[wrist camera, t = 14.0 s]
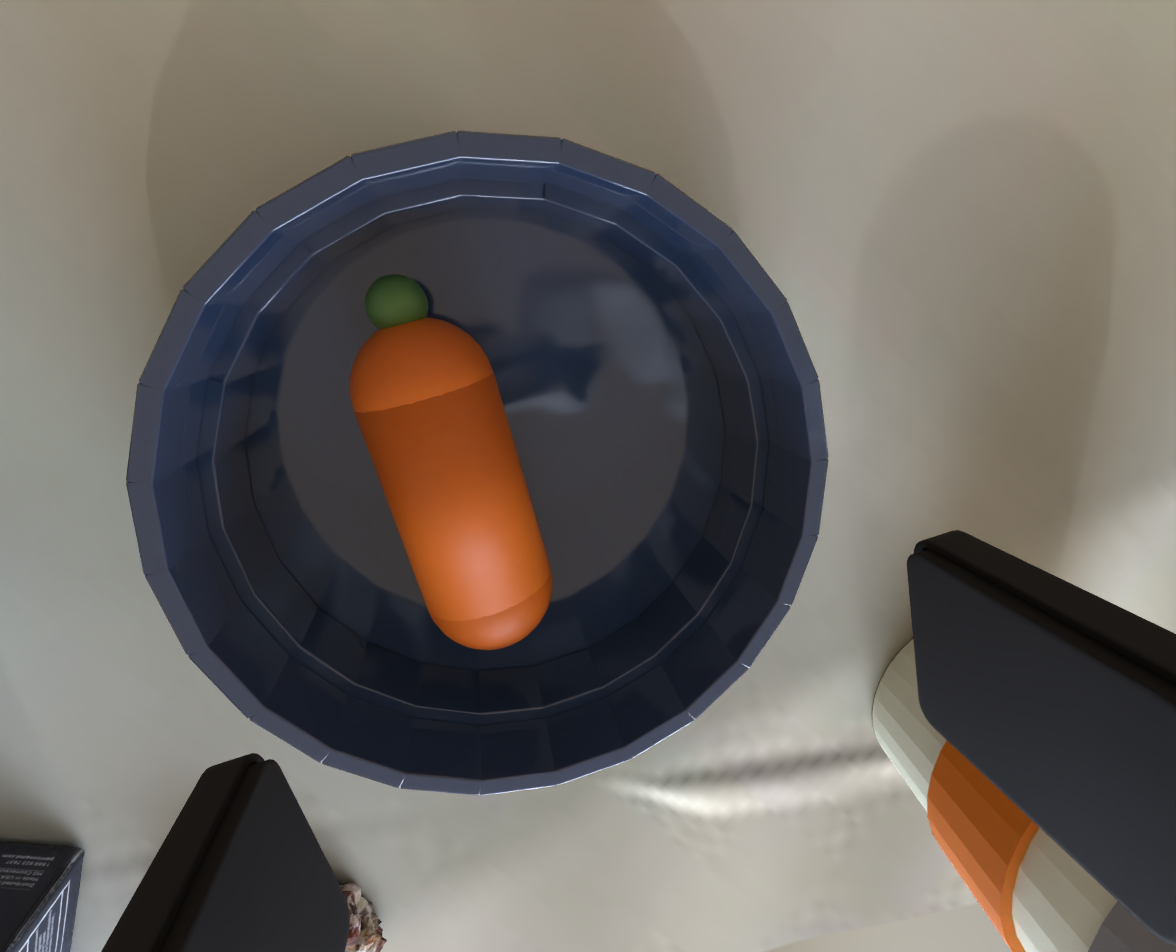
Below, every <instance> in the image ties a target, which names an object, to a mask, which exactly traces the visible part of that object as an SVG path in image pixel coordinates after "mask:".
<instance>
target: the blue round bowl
mask: <svg viewBox="0 0 1176 952" xmlns="http://www.w3.org/2000/svg"><path fill="white" fill-rule="evenodd" d="M389 274H399V275H404V276H407V277H409V278H411V279H412V280H414V281H415V282H416V283H417V284H419V286H420V287H421V288H422V289H423V291H424V293H425V295H426V297H427V301H428V315H427V317H429V318H435V319H439V320H443V321H446V322H448V323H451V324H453V325H455V326H457V327H459V328H460V329H462V330H463V331H465V332H466V333H467V334H469V335H470V336H471V337H472V338H473V339H474V340H475V341H476V342H477V343H478V344H479V345H480V346H481V348H482V350H483V351H484V353H485V354H486V356H487V357H488V360H489V362H490V365H491V367H492V370H493V372H494V375H495V379H496V382H497V385H498V389H499V392H500V396H501V399H502V403H503V406H504V409H505V413H506V416H507V420H508V423H509V427H510V430H511V433H512V437H513V440H514V444H515V447H516V451H517V454H518V458H519V461H520V464H521V468H522V471H523V475H524V478H525V482H526V485H527V488H528V492H529V495H530V499H531V502H532V506H533V509H534V512H535V516H536V519H537V523H538V526H539V530H540V533H541V537H542V540H543V543H544V547H545V550H546V554H547V557H548V561H549V564H550V568H551V574H552V594H551V599H550V602H549V606H548V608H547V611H546V613H545V614H544V616H543V618H542V620H541V621H540V623H539V624H538V625H537V627H536V628H535V629H534V630H533V631H532V632H531V633H529V634H528V635H527V636H526V637H525V638H523V639H522V640H520V641H518V642H517V643H515V644H512V645H510V646H507V647H504V648H500V649H495V650H481V649H473V648H469V647H466V646H463V645H461V644H458V643H457V642H455V641H453V640H452V639H450V638H449V637H447V636H446V635H445V634H444V633H443V632H442V631H441V630H440V629H439V627H438V626H437V625H436V624H435V623H434V622H433V620H432V618H431V616H430V614H429V612H428V610H427V607H426V604H425V602H424V599H423V596H422V594H421V591H420V588H419V585H418V583H417V580H416V577H415V575H414V572H413V569H412V567H411V564H410V561H409V559H408V556H407V553H406V550H405V548H404V545H403V542H402V540H401V537H400V534H399V532H398V529H397V526H396V524H395V521H394V518H393V515H392V513H391V510H390V507H389V505H388V502H387V499H386V497H385V494H384V491H383V489H382V486H381V483H380V481H379V478H378V475H377V472H376V470H375V467H374V464H373V462H372V459H371V456H370V454H369V451H368V448H367V446H366V443H365V440H364V437H363V435H362V432H361V429H360V427H359V424H358V421H357V419H356V416H355V413H354V409H353V406H352V402H351V398H350V376H351V370H352V366H353V363H354V361H355V358H356V356H357V353H358V352H359V350H360V349H361V347H362V346H363V344H364V343H365V342H366V341H367V340H368V339H369V338H370V337H371V336H372V335H373V334H374V333H375V332H376V331H378V330H379V329H377V328H376V327H375V326H374V325H373V324H372V322H371V321H370V319H369V317H368V315H367V312H366V308H365V298H366V294H367V291H368V289H369V287H370V286H371V285H372V283H373V282H374V281H376V280H377V279H378V278H380V277H382V276H385V275H389ZM139 382H140V383H138V384H137V393H136V401H135V410H134V418H133V426H132V435H131V443H130V452H129V460H128V469H127V477H126V481H127V482H126V485H127V490H128V495H129V500H130V505H131V510H132V516H133V521H134V526H135V531H136V536H137V541H138V546H139V552H140V557H141V562H142V567H143V572H144V574H145V577H146V579H147V581H148V583H149V585H150V587H151V589H152V590H153V592H154V594H155V596H156V598H157V600H158V602H159V604H160V606H161V607H162V609H163V611H164V613H165V615H166V617H167V619H168V621H169V622H170V624H171V626H172V628H173V630H174V632H175V634H176V636H177V638H178V639H179V641H180V643H181V645H182V647H183V649H184V651H185V653H186V654H187V655H189V658H190V659H191V660H192V661H193V662H194V663H195V664H196V665H197V666H198V667H199V668H200V669H201V671H202V672H203V673H204V674H205V675H206V676H207V677H208V678H209V679H210V680H211V681H212V682H213V683H214V684H215V685H216V686H217V687H218V688H219V689H220V690H221V691H222V692H223V693H224V694H225V695H226V697H227V698H228V699H229V700H230V701H231V702H232V703H233V704H234V705H235V706H236V707H237V708H238V709H239V710H240V711H241V712H242V713H243V714H244V715H245V716H246V717H247V718H250V720H251V721H252V722H254V723H255V724H257V725H259V726H260V727H262V728H264V729H265V730H267V731H269V732H270V733H272V734H273V735H275V736H277V737H278V738H280V739H282V740H283V741H285V742H287V743H288V744H290V745H291V746H293V747H295V748H296V749H298V750H300V751H301V752H303V753H305V754H306V755H308V756H309V757H311V758H313V759H314V760H316V761H318V762H320V763H321V762H322V764H324V765H327V766H330V767H333V768H336V769H340V770H343V771H346V772H349V773H352V774H355V775H358V776H362V777H365V778H368V779H371V780H374V781H377V782H380V783H383V784H387V785H390V786H393V787H396V788H400V787H401V789H409V790H421V791H433V792H445V793H456V794H468V795H479V794H480V795H481V796H482V795H490V794H497V793H505V792H513V791H520V790H528V789H535V788H543V787H551V786H557V784H558V785H560V784H563V783H566V782H569V781H572V780H575V779H577V778H580V777H583V776H586V775H589V774H592V773H594V772H597V771H600V770H603V769H606V768H609V767H611V766H614V765H617V764H620V763H623V762H626V761H628V760H629V759H632V758H634V757H636V756H637V755H639V754H641V753H642V752H644V751H646V750H647V749H649V748H650V747H652V746H654V745H655V744H657V743H659V742H660V741H662V740H664V739H665V738H667V737H669V736H670V735H672V734H673V733H675V732H677V731H678V730H680V729H682V728H683V727H685V726H687V725H688V724H690V723H691V722H693V721H694V719H697V718H698V717H699V716H700V715H701V714H702V713H703V712H704V711H705V710H706V709H707V708H708V707H709V706H710V705H711V704H712V703H713V702H714V701H716V700H717V699H718V698H719V697H720V696H721V695H722V694H723V693H724V692H725V691H726V690H727V689H728V688H729V687H730V686H731V685H732V684H733V683H735V682H736V681H737V680H738V679H739V678H740V677H741V676H742V675H743V674H744V673H745V672H746V671H747V670H748V668H750V667H751V665H752V664H753V662H754V661H755V659H756V658H757V656H758V655H759V653H760V652H761V650H762V649H763V647H764V646H765V644H766V643H767V642H768V640H769V639H770V637H771V636H772V634H773V633H774V631H775V630H776V628H777V627H778V625H779V624H780V622H781V621H782V619H783V618H784V616H785V615H786V613H787V612H788V610H789V609H790V606H791V605H792V603H793V601H794V598H795V595H796V593H797V590H798V588H799V585H800V582H801V580H802V577H803V575H804V572H805V569H806V567H807V564H808V562H809V559H810V556H811V554H812V551H813V549H814V546H815V543H816V541H817V538H818V536H817V535H818V534H819V528H820V521H821V513H822V505H823V498H824V490H825V482H826V475H827V467H828V459H827V458H828V450H827V442H826V434H825V426H824V417H823V409H822V401H821V393H820V384H819V380H818V376H817V373H816V371H815V368H814V366H813V363H812V361H811V358H810V356H809V353H808V351H807V348H806V346H805V343H804V341H803V338H802V336H801V334H800V331H799V329H798V326H797V324H796V321H795V319H794V316H793V314H792V311H791V309H790V306H789V304H788V302H787V299H786V298H785V297H784V295H783V294H782V293H781V291H780V290H779V289H778V287H777V286H776V285H775V283H774V282H773V281H772V280H771V278H770V277H769V276H768V274H767V273H766V272H765V270H764V269H763V268H762V267H761V265H760V264H759V263H758V261H757V260H756V259H755V257H754V256H753V255H752V254H751V252H750V251H749V250H748V248H747V247H746V246H745V244H744V243H743V242H742V241H741V239H740V238H739V237H738V235H737V234H736V233H735V231H733V230H732V228H730V227H729V226H728V225H726V224H725V223H724V222H722V221H721V220H720V219H718V218H717V217H716V216H714V215H713V214H711V213H710V212H709V211H707V210H706V209H705V208H703V207H702V206H701V205H699V204H698V203H697V202H695V201H694V200H693V199H691V198H690V197H689V196H687V195H686V194H685V193H683V192H682V191H680V190H679V189H678V188H676V187H675V186H674V185H672V184H671V183H670V182H668V181H667V180H666V179H664V178H663V177H662V176H660V175H659V174H655V173H654V172H653V171H650V170H647V169H644V168H642V167H639V166H636V165H634V164H631V163H628V162H626V161H623V160H620V159H618V158H615V157H612V156H609V155H607V154H604V153H601V152H599V151H596V150H593V149H591V148H588V147H585V146H583V145H580V144H577V143H574V142H572V141H569V140H566V139H562V140H561V139H560V138H557V137H542V136H528V135H514V134H499V133H485V132H470V131H457V133H456V132H454V131H452V132H447V133H443V134H438V135H434V136H430V137H425V138H421V139H416V140H412V141H407V142H403V143H399V144H394V145H390V146H385V147H381V148H376V149H372V150H367V151H363V152H359V153H354V154H352V155H351V157H350V156H346V157H344V158H343V159H341V160H339V161H338V162H336V163H334V164H332V165H331V166H329V167H327V168H325V169H324V170H322V171H320V172H318V173H317V174H315V175H313V176H311V177H310V178H308V179H306V180H304V181H303V182H301V183H299V184H297V185H296V186H294V187H292V188H290V189H289V190H287V191H285V192H283V193H282V194H280V195H278V196H276V197H275V198H273V199H271V200H269V201H268V202H266V203H264V204H262V205H261V206H259V207H257V209H256V211H255V210H254V211H252V212H251V213H250V214H249V216H248V217H247V218H246V219H245V220H244V221H243V222H242V223H241V224H240V225H239V226H238V227H237V229H236V230H235V231H234V232H233V233H232V234H231V235H230V236H229V237H228V238H227V239H226V240H225V242H224V243H223V244H222V245H221V246H220V247H219V248H218V249H217V250H216V251H215V252H214V253H213V255H212V256H211V257H210V258H209V259H208V260H207V261H206V262H205V263H204V264H203V265H202V266H201V268H200V269H199V270H198V271H197V272H196V273H195V274H194V275H193V276H192V277H191V278H190V279H189V281H188V282H187V283H186V284H185V285H184V287H183V289H182V290H181V291H180V293H179V295H178V297H177V299H176V301H175V303H174V306H173V308H172V310H171V312H170V314H169V316H168V319H167V321H166V323H165V325H164V327H163V329H162V332H161V334H160V336H159V338H158V340H157V342H156V345H155V347H154V349H153V351H152V353H151V355H150V358H149V360H148V362H147V364H146V366H145V368H144V371H143V373H142V375H141V377H140V379H139Z"/></svg>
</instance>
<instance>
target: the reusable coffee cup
mask: <svg viewBox="0 0 1176 952" xmlns="http://www.w3.org/2000/svg"><path fill="white" fill-rule="evenodd" d="M872 715H873V728H874V731H875V734H876V738H877V740H878V742H879V744H880V745H881V747H882V748H883V750H884V752H885V753H886V754H887V756H888V757H889V759H890V760H891V761H892V763H893V764H894V766H895V767H896V768H897V770H898V771H899V773H900V774H901V776H902V777H903V778H904V780H905V781H906V783H907V784H908V785H909V787H910V788H911V790H912V791H913V792H914V794H915V795H916V797H917V798H918V800H919V801H920V802H921V804H922V805H923V807H924V808H925V809H926V811H927V816H928V820H929V824H930V827H931V831H932V834H933V836H934V837H935V839H936V841H937V842H938V844H939V846H940V847H941V849H942V850H943V852H944V853H945V855H946V856H947V858H948V859H949V860H950V862H951V863H952V865H953V866H954V868H955V869H956V871H957V872H958V874H959V875H960V876H961V878H962V879H963V881H964V882H965V884H966V885H967V887H968V888H969V890H970V891H971V892H972V894H973V895H974V897H975V898H976V900H977V901H978V903H979V904H980V906H981V907H982V908H983V910H984V911H985V913H986V914H987V916H988V917H989V918H990V920H991V921H992V923H993V924H994V926H995V927H996V929H997V930H998V932H999V933H1000V935H1001V936H1002V937H1003V939H1004V940H1005V942H1006V943H1007V945H1008V946H1009V948H1010V949H1011V951H1012V952H1176V944H1170V943H1166V942H1165V941H1163V940H1161V939H1160V938H1158V937H1157V936H1155V935H1154V934H1153V933H1152V932H1150V931H1149V930H1148V929H1147V928H1146V927H1145V926H1144V925H1143V924H1142V923H1141V922H1140V921H1139V920H1137V919H1136V918H1135V917H1134V916H1133V915H1132V914H1131V913H1130V912H1129V911H1128V910H1127V909H1126V908H1125V907H1124V906H1123V905H1121V904H1120V903H1119V902H1118V901H1117V900H1116V899H1115V898H1114V897H1113V896H1112V895H1111V894H1110V893H1109V892H1108V891H1107V890H1106V889H1104V888H1103V887H1102V886H1101V885H1100V884H1099V883H1098V882H1097V881H1096V880H1095V879H1094V878H1093V877H1092V876H1091V875H1090V874H1089V873H1087V872H1086V871H1085V870H1084V869H1083V868H1082V867H1081V866H1080V865H1079V864H1078V863H1077V862H1076V861H1075V860H1074V859H1073V858H1071V857H1070V856H1069V855H1068V854H1067V853H1066V852H1065V851H1064V850H1063V849H1062V848H1061V847H1060V846H1059V845H1058V844H1057V843H1056V842H1054V841H1053V840H1052V839H1051V838H1050V837H1049V836H1048V835H1047V834H1046V833H1045V832H1044V831H1043V830H1042V829H1041V828H1040V827H1039V826H1037V825H1036V824H1035V823H1034V822H1033V821H1032V820H1031V819H1030V818H1029V817H1028V816H1027V815H1026V814H1025V813H1024V812H1023V811H1021V810H1020V809H1019V808H1018V807H1017V806H1016V805H1015V804H1014V803H1013V802H1012V801H1011V800H1010V799H1009V798H1008V797H1007V796H1006V795H1004V794H1003V793H1002V792H1001V791H1000V790H999V789H998V788H997V787H996V786H995V785H994V784H993V783H992V782H991V781H990V780H989V779H987V778H986V777H985V776H984V775H983V774H982V773H981V772H980V771H979V770H978V769H977V768H976V767H975V766H974V765H973V764H971V763H970V762H969V761H968V760H967V759H966V758H965V757H964V756H963V755H962V754H961V753H960V752H959V751H958V750H957V749H956V748H954V747H953V746H952V745H951V744H950V743H949V742H948V741H947V740H946V739H945V738H944V737H943V736H942V735H941V734H940V733H939V732H937V731H936V730H935V729H934V728H933V727H932V726H931V724H930V723H929V722H928V721H927V719H926V718H925V716H924V714H923V712H922V710H921V707H920V704H919V699H918V687H917V676H916V664H915V652H914V641H913V639H912V640H911V641H910V642H909V643H908V644H907V645H906V646H905V647H904V648H903V649H901V650H900V652H899V653H898V654H897V655H896V657H895V658H894V659H893V661H892V662H891V663H890V664H889V666H888V668H887V670H886V671H885V673H884V675H883V677H882V679H881V680H880V683H879V686H878V689H877V692H876V694H875V698H874V705H873V711H872Z"/></svg>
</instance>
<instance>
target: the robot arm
mask: <svg viewBox="0 0 1176 952" xmlns="http://www.w3.org/2000/svg"><path fill="white" fill-rule="evenodd" d="M907 571H908V583H909V594H910V606H911V618H912V629H913V641H914V652H915V664H916V676H917V687H918V699H919V704H920V707H921V710H922V712H923V714H924V716H925V718H926V719H927V721H928V722H929V723H930V724H931V726H932V727H933V728H934V729H935V730H936V731H937V732H939V733H940V734H941V735H942V736H943V737H944V738H945V739H946V740H947V741H948V742H949V743H950V744H951V745H952V746H953V747H954V748H956V749H957V750H958V751H959V752H960V753H961V754H962V755H963V756H964V757H965V758H966V759H967V760H968V761H969V762H970V763H971V764H973V765H974V766H975V767H976V768H977V769H978V770H979V771H980V772H981V773H982V774H983V775H984V776H985V777H986V778H987V779H989V780H990V781H991V782H992V783H993V784H994V785H995V786H996V787H997V788H998V789H999V790H1000V791H1001V792H1002V793H1003V794H1004V795H1006V796H1007V797H1008V798H1009V799H1010V800H1011V801H1012V802H1013V803H1014V804H1015V805H1016V806H1017V807H1018V808H1019V809H1020V810H1021V811H1023V812H1024V813H1025V814H1026V815H1027V816H1028V817H1029V818H1030V819H1031V820H1032V821H1033V822H1034V823H1035V824H1036V825H1037V826H1039V827H1040V828H1041V829H1042V830H1043V831H1044V832H1045V833H1046V834H1047V835H1048V836H1049V837H1050V838H1051V839H1052V840H1053V841H1054V842H1056V843H1057V844H1058V845H1059V846H1060V847H1061V848H1062V849H1063V850H1064V851H1065V852H1066V853H1067V854H1068V855H1069V856H1070V857H1071V858H1073V859H1074V860H1075V861H1076V862H1077V863H1078V864H1079V865H1080V866H1081V867H1082V868H1083V869H1084V870H1085V871H1086V872H1087V873H1089V874H1090V875H1091V876H1092V877H1093V878H1094V879H1095V880H1096V881H1097V882H1098V883H1099V884H1100V885H1101V886H1102V887H1103V888H1104V889H1106V890H1107V891H1108V892H1109V893H1110V894H1111V895H1112V896H1113V897H1114V898H1115V899H1116V900H1117V901H1118V902H1119V903H1120V904H1121V905H1123V906H1124V907H1125V908H1126V909H1127V910H1128V911H1129V912H1130V913H1131V914H1132V915H1133V916H1134V917H1135V918H1136V919H1137V920H1139V921H1140V922H1141V923H1142V924H1143V925H1144V926H1145V927H1146V928H1147V929H1148V930H1149V931H1150V932H1152V933H1153V934H1154V935H1155V936H1157V937H1158V938H1160V939H1161V940H1163V941H1165V942H1166V943H1170V944H1176V634H1174V633H1172V632H1170V631H1168V630H1166V629H1164V628H1162V627H1160V626H1158V625H1156V624H1154V623H1151V622H1149V621H1147V620H1145V619H1143V618H1141V617H1139V616H1137V615H1135V614H1133V613H1131V612H1129V611H1127V610H1124V609H1122V608H1120V607H1118V606H1116V605H1114V604H1112V603H1110V602H1108V601H1106V600H1104V599H1102V598H1100V597H1098V596H1095V595H1093V594H1091V593H1089V592H1087V591H1085V590H1083V589H1081V588H1079V587H1077V586H1075V585H1073V584H1071V583H1068V582H1066V581H1064V580H1062V579H1060V578H1058V577H1056V576H1054V575H1052V574H1050V573H1048V572H1046V571H1044V570H1042V569H1039V568H1037V567H1035V566H1033V565H1031V564H1029V563H1027V562H1025V561H1023V560H1021V559H1019V558H1017V557H1015V556H1013V555H1010V554H1008V553H1006V552H1004V551H1002V550H1000V549H998V548H996V547H994V546H992V545H990V544H988V543H986V542H983V541H981V540H979V539H977V538H975V537H973V536H971V535H969V534H967V533H965V532H962V531H958V530H956V531H951V532H948V533H944V534H941V535H938V536H935V537H932V538H929V539H925V540H922V541H920V542H918V543H917V544H916V546H915V549H914V554H911V555H910V556H909V557H908V560H907ZM349 928H350V913H349V907H348V902H347V900H346V897H345V895H344V893H343V891H342V889H341V887H340V885H339V883H338V881H337V879H336V877H335V875H334V873H333V871H332V869H331V867H330V865H329V863H328V861H327V859H326V857H325V855H324V853H323V851H322V849H321V848H320V846H319V844H318V842H317V840H316V838H315V836H314V834H313V832H312V830H311V828H310V826H309V824H308V822H307V820H306V818H305V816H304V814H303V812H302V810H301V808H300V806H299V804H298V802H297V800H296V798H295V796H294V794H293V792H292V790H291V788H290V786H289V784H288V782H287V780H286V778H285V776H284V774H283V772H282V770H281V768H280V767H279V765H278V764H277V762H275V761H274V760H270V759H269V760H266V761H264V759H263V758H262V757H261V756H260V755H258V754H254V753H252V754H249V755H245V756H242V757H239V758H236V759H233V760H230V761H227V762H223V763H220V764H217V765H214V766H211V767H209V768H208V769H206V770H205V772H204V773H203V774H202V775H201V777H200V779H199V781H198V782H197V784H196V786H195V788H194V789H193V791H192V793H191V795H190V797H189V798H188V800H187V802H186V804H185V805H184V807H183V809H182V811H181V812H180V814H179V816H178V818H177V819H176V821H175V823H174V825H173V826H172V828H171V830H170V832H169V834H168V835H167V837H166V839H165V841H164V842H163V844H162V846H161V848H160V849H159V851H158V853H157V855H156V856H155V858H154V860H153V862H152V863H151V865H150V867H149V869H148V871H147V872H146V874H145V876H144V878H143V879H142V881H141V883H140V885H139V886H138V888H137V890H136V892H135V893H134V895H133V897H132V899H131V900H130V902H129V904H128V906H127V907H126V909H125V911H124V913H123V915H122V916H121V918H120V920H119V922H118V923H117V925H116V927H115V929H114V930H113V932H112V934H111V936H110V937H109V939H108V941H107V943H106V944H105V946H104V948H103V950H102V952H345V950H346V945H347V940H348V935H349Z"/></svg>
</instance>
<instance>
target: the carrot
mask: <svg viewBox="0 0 1176 952" xmlns="http://www.w3.org/2000/svg"><path fill="white" fill-rule="evenodd" d="M365 308H366V312H367V315H368V317H369V319H370V321H371V322H372V324H373V325H374V326H375V327H376V328H377V329H379V330H378V331H376V332H375V333H374V334H373V335H372V336H371V337H370V338H369V339H368V340H367V341H366V342H365V343H364V344H363V346H362V347H361V349H360V350H359V352H358V353H357V356H356V358H355V361H354V363H353V366H352V370H351V376H350V398H351V402H352V406H353V409H354V413H355V416H356V419H357V421H358V424H359V427H360V429H361V432H362V435H363V437H364V440H365V443H366V446H367V448H368V451H369V454H370V456H371V459H372V462H373V464H374V467H375V470H376V472H377V475H378V478H379V481H380V483H381V486H382V489H383V491H384V494H385V497H386V499H387V502H388V505H389V507H390V510H391V513H392V515H393V518H394V521H395V524H396V526H397V529H398V532H399V534H400V537H401V540H402V542H403V545H404V548H405V550H406V553H407V556H408V559H409V561H410V564H411V567H412V569H413V572H414V575H415V577H416V580H417V583H418V585H419V588H420V591H421V594H422V596H423V599H424V602H425V604H426V607H427V610H428V612H429V614H430V616H431V618H432V620H433V622H434V623H435V624H436V625H437V626H438V627H439V629H440V630H441V631H442V632H443V633H444V634H445V635H446V636H447V637H449V638H450V639H452V640H453V641H455V642H457V643H458V644H461V645H463V646H466V647H469V648H473V649H481V650H495V649H500V648H504V647H507V646H510V645H512V644H515V643H517V642H518V641H520V640H522V639H523V638H525V637H526V636H527V635H528V634H529V633H531V632H532V631H533V630H534V629H535V628H536V627H537V625H538V624H539V623H540V621H541V620H542V618H543V616H544V614H545V613H546V611H547V608H548V606H549V602H550V599H551V594H552V574H551V568H550V564H549V561H548V557H547V554H546V550H545V547H544V543H543V540H542V537H541V533H540V530H539V526H538V523H537V519H536V516H535V512H534V509H533V506H532V502H531V499H530V495H529V492H528V488H527V485H526V482H525V478H524V475H523V471H522V468H521V464H520V461H519V458H518V454H517V451H516V447H515V444H514V440H513V437H512V433H511V430H510V427H509V423H508V420H507V416H506V413H505V409H504V406H503V403H502V399H501V396H500V392H499V389H498V385H497V382H496V379H495V375H494V372H493V370H492V367H491V365H490V362H489V360H488V357H487V356H486V354H485V353H484V351H483V350H482V348H481V346H480V345H479V344H478V343H477V342H476V341H475V340H474V339H473V338H472V337H471V336H470V335H469V334H467V333H466V332H465V331H463V330H462V329H460V328H459V327H457V326H455V325H453V324H451V323H448V322H446V321H443V320H439V319H435V318H429V317H427V315H428V301H427V297H426V295H425V293H424V291H423V289H422V288H421V287H420V286H419V284H417V283H416V282H415V281H414V280H412V279H411V278H409V277H407V276H404V275H399V274H389V275H385V276H382V277H380V278H378V279H377V280H376V281H374V282H373V283H372V285H371V286H370V287H369V289H368V291H367V294H366V298H365Z"/></svg>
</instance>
